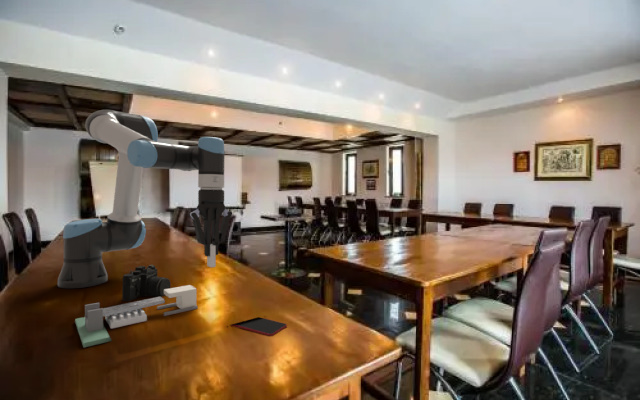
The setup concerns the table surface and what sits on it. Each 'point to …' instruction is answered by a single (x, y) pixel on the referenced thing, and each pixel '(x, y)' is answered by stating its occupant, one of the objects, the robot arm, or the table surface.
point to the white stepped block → (182, 296)
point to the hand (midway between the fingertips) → (211, 266)
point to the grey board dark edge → (132, 306)
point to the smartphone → (261, 326)
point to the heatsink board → (91, 335)
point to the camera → (143, 283)
